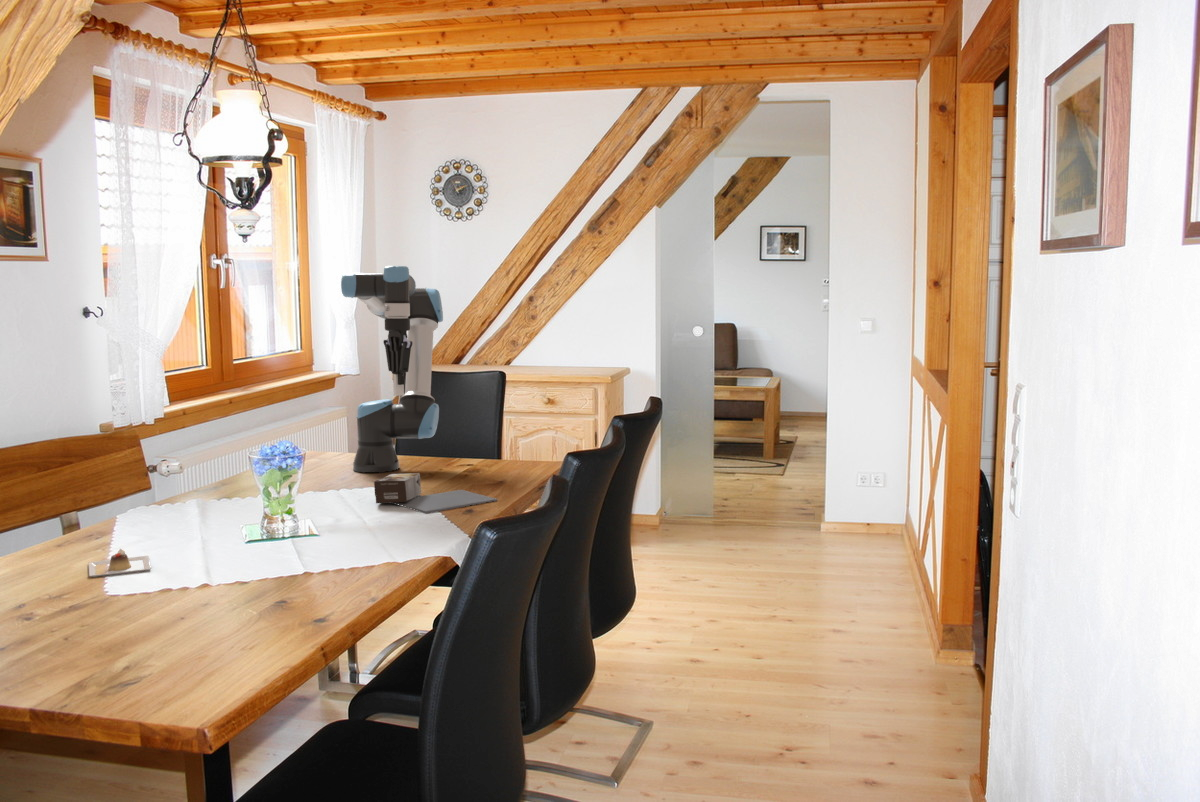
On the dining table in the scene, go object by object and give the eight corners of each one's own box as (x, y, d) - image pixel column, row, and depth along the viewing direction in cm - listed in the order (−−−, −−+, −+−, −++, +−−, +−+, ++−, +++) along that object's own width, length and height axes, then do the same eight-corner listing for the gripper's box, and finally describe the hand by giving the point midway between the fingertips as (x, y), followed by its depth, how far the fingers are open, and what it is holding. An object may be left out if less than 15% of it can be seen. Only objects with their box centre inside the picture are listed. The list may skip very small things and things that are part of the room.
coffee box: (391, 495, 293) (374, 504, 277) (390, 473, 293) (372, 481, 277) (422, 493, 292) (406, 502, 276) (420, 472, 292) (404, 479, 276)
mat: (391, 502, 282) (391, 500, 282) (461, 491, 298) (461, 489, 298) (425, 513, 269) (425, 511, 268) (497, 501, 285) (497, 498, 285)
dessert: (89, 581, 208) (87, 558, 207) (88, 567, 218) (87, 545, 218) (151, 573, 213) (150, 552, 213) (148, 560, 224) (147, 539, 223)
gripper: (375, 317, 301) (376, 394, 303) (397, 318, 291) (399, 397, 294) (396, 316, 306) (398, 392, 308) (419, 317, 296) (421, 396, 299)
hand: (398, 395), depth 301 cm, fingers closed
